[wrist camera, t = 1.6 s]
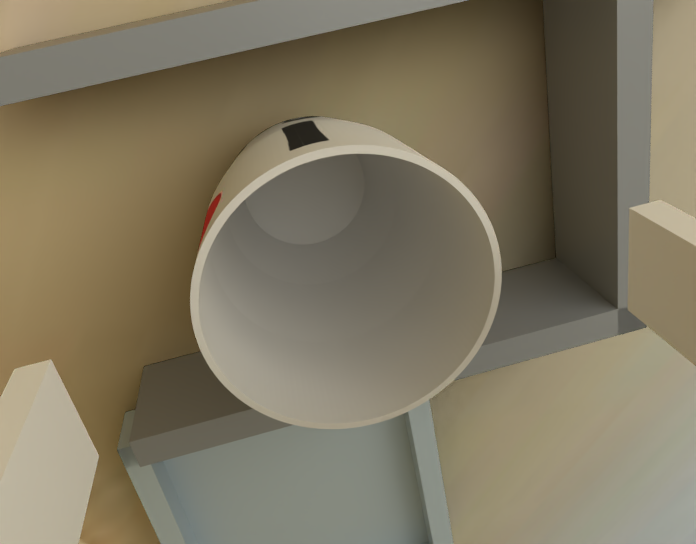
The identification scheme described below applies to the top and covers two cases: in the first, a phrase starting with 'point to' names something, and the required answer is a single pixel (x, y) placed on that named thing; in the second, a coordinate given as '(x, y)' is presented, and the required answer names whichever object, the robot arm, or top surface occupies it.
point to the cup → (341, 276)
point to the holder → (517, 284)
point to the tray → (301, 487)
